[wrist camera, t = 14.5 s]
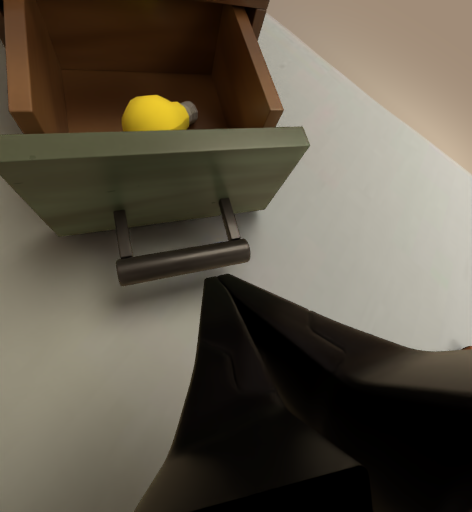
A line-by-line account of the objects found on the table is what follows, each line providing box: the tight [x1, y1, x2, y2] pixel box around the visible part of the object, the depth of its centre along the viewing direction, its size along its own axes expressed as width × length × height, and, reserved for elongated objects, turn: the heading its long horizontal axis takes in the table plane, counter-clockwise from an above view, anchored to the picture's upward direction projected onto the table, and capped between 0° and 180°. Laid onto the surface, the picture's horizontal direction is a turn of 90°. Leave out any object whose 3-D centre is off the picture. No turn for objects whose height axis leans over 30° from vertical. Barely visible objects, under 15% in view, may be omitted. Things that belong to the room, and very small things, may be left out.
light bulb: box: [121, 95, 198, 131], centre depth 17 cm, size 3×6×4 cm, turn 145°
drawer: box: [0, 0, 310, 286], centre depth 15 cm, size 16×13×7 cm
